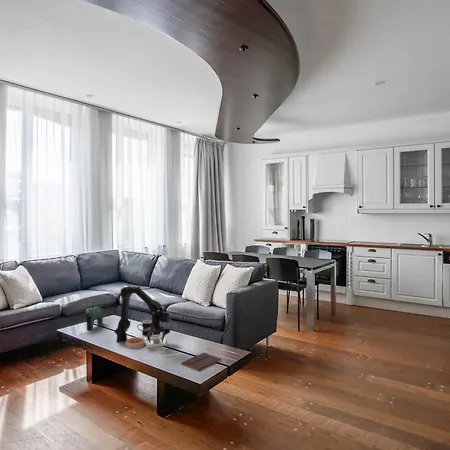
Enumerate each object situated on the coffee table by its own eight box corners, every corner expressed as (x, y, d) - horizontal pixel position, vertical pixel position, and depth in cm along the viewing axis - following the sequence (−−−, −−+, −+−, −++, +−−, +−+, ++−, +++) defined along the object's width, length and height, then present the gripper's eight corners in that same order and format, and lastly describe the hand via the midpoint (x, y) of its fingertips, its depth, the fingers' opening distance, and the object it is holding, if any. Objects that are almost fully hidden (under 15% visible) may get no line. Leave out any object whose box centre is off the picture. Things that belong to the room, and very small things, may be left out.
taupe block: (152, 342, 257) (152, 336, 257) (152, 340, 262) (152, 334, 262) (158, 341, 258) (158, 335, 258) (158, 339, 263) (157, 333, 263)
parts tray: (146, 348, 248) (146, 345, 248) (145, 340, 262) (145, 337, 262) (167, 346, 252) (166, 343, 252) (164, 338, 266) (164, 335, 266)
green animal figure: (90, 331, 285) (90, 305, 284) (83, 330, 286) (82, 305, 285) (104, 323, 304) (104, 299, 303) (97, 322, 305) (97, 299, 305)
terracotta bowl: (126, 349, 246) (126, 344, 245) (126, 343, 258) (126, 338, 258) (145, 347, 249) (145, 342, 249) (144, 341, 261) (144, 336, 261)
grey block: (153, 345, 251) (153, 339, 251) (153, 343, 256) (152, 337, 255) (159, 345, 252) (159, 338, 252) (158, 342, 257) (158, 336, 257)
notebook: (221, 361, 227) (221, 358, 227) (198, 372, 212) (198, 368, 212) (203, 355, 237) (203, 352, 237) (181, 365, 222) (181, 361, 222)
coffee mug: (155, 332, 279) (155, 320, 279) (152, 336, 270) (151, 323, 270) (140, 332, 280) (140, 319, 280) (136, 336, 272) (136, 323, 271)
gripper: (142, 325, 243) (143, 348, 244) (170, 323, 248) (171, 345, 249) (141, 321, 254) (142, 343, 254) (168, 318, 259) (169, 340, 259)
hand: (156, 343), depth 254 cm, fingers open, 8 cm apart
